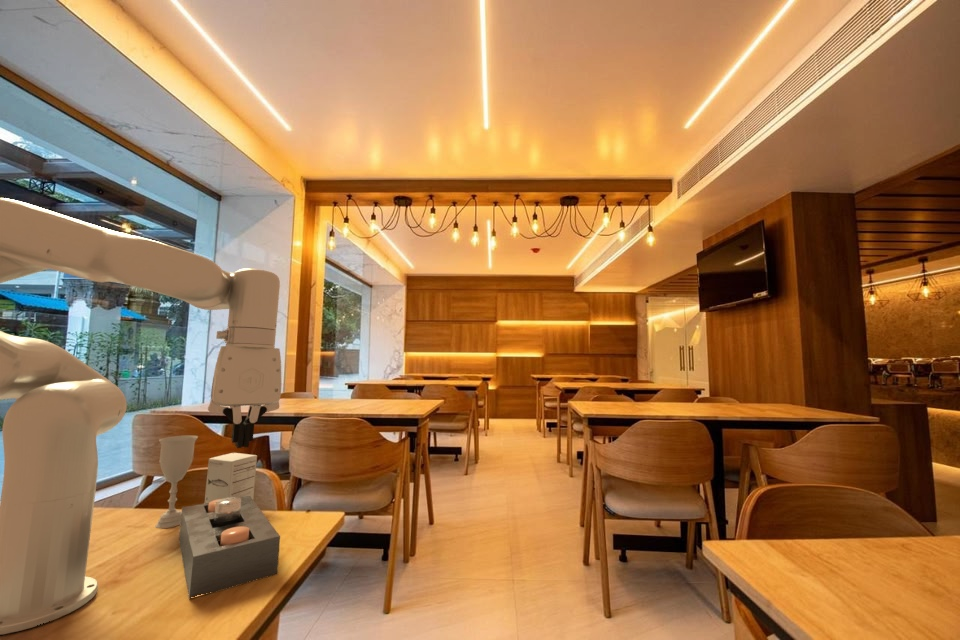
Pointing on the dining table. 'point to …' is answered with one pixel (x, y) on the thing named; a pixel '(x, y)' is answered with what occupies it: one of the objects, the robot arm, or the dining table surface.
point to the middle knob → (227, 509)
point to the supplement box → (230, 476)
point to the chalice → (174, 472)
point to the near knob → (234, 535)
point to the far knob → (212, 506)
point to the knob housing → (226, 548)
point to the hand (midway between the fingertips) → (241, 446)
